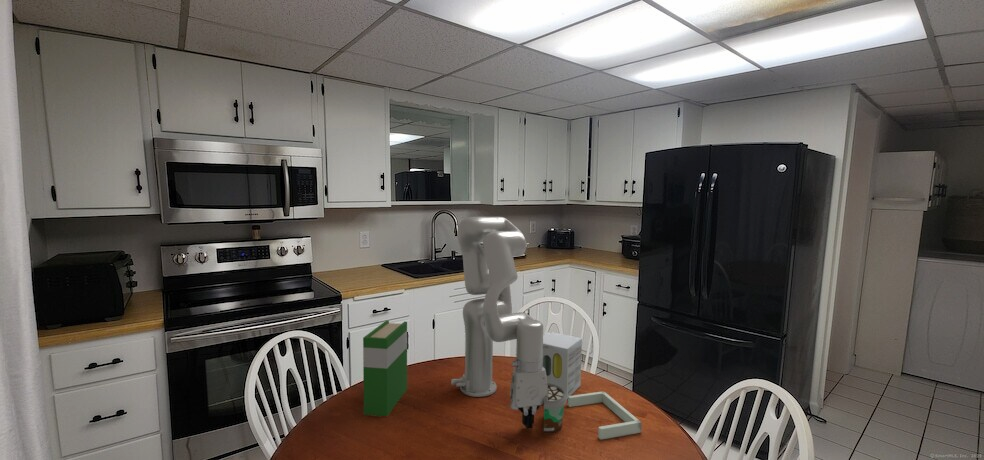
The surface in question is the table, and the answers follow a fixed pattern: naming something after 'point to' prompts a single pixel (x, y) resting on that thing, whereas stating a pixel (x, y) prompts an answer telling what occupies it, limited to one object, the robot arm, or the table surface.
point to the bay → (615, 430)
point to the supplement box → (562, 361)
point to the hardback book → (384, 367)
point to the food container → (554, 409)
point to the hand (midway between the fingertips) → (527, 426)
